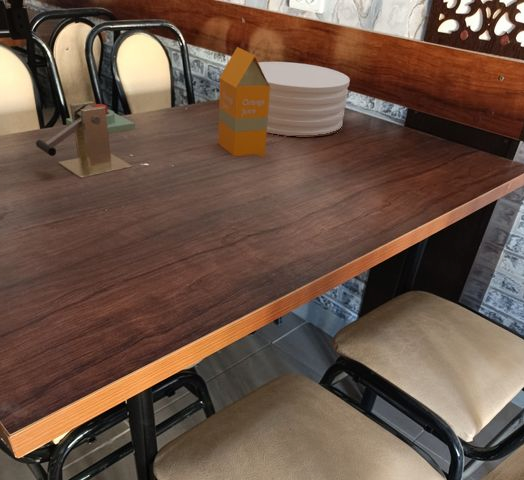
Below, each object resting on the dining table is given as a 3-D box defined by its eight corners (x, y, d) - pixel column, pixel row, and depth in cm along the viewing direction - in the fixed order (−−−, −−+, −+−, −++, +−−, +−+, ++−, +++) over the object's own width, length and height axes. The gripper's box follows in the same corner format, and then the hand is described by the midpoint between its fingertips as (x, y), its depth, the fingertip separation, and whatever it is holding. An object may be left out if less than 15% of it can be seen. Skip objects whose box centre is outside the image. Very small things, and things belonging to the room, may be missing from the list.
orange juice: (248, 144, 118) (253, 46, 106) (265, 157, 113) (273, 55, 100) (217, 147, 115) (219, 46, 103) (233, 160, 109) (237, 55, 97)
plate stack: (362, 126, 137) (371, 79, 130) (294, 144, 121) (300, 92, 113) (286, 101, 151) (290, 58, 144) (216, 115, 135) (217, 67, 128)
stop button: (96, 117, 114) (95, 109, 113) (88, 113, 116) (87, 105, 115) (110, 115, 116) (109, 107, 115) (102, 111, 118) (101, 103, 117)
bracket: (81, 183, 94) (70, 116, 87) (59, 168, 99) (47, 103, 92) (132, 171, 100) (127, 108, 93) (109, 157, 105) (102, 96, 98)
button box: (88, 140, 112) (86, 122, 110) (67, 128, 117) (64, 110, 115) (135, 132, 119) (134, 114, 116) (113, 121, 124) (111, 103, 122)
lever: (53, 159, 90) (45, 148, 89) (40, 151, 93) (32, 140, 91) (104, 121, 93) (98, 109, 91) (91, 114, 96) (84, 102, 94)
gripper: (-67, -112, 73) (-29, 27, 84) (-34, -113, 63) (4, 45, 74) (-13, -107, 77) (17, 25, 88) (27, -108, 67) (55, 41, 78)
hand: (11, 34), depth 81 cm, fingers open, 9 cm apart
